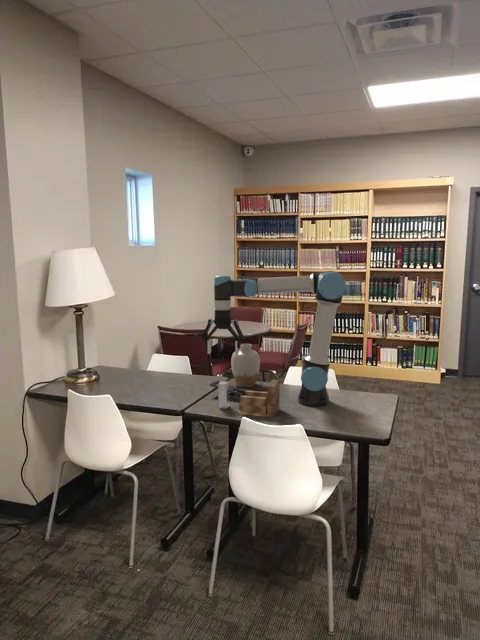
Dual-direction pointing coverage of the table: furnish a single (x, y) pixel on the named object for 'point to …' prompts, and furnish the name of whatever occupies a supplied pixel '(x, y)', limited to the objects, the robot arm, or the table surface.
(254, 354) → the vase
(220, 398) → the white tall block
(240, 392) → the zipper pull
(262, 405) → the wooden box
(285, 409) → the table surface
